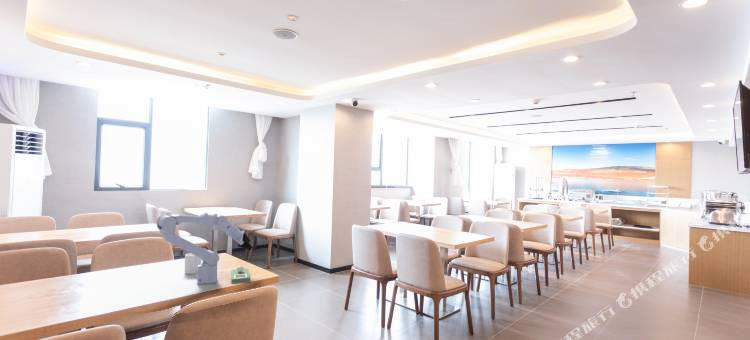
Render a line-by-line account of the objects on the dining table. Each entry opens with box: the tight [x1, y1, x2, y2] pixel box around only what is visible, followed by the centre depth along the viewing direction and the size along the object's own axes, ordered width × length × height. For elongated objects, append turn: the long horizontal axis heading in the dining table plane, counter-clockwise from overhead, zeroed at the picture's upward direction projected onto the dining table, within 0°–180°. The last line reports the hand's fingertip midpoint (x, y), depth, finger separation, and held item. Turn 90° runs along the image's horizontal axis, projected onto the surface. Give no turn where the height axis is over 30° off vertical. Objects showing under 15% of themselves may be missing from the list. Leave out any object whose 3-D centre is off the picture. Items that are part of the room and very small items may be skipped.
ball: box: [236, 265, 245, 272], centre depth 203 cm, size 4×4×4 cm
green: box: [230, 268, 251, 284], centre depth 201 cm, size 9×18×2 cm, turn 21°
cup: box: [184, 252, 202, 275], centre depth 210 cm, size 8×12×10 cm
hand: (250, 245), depth 207 cm, fingers open, 7 cm apart
